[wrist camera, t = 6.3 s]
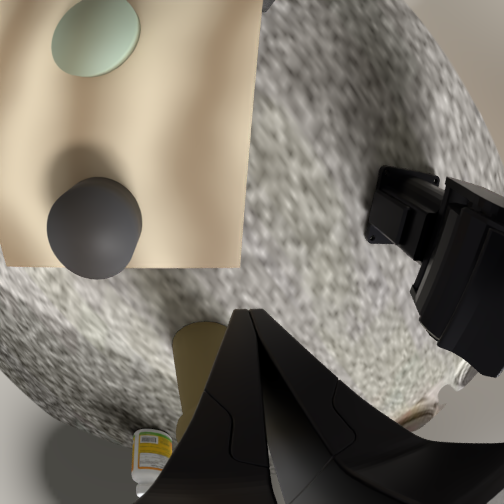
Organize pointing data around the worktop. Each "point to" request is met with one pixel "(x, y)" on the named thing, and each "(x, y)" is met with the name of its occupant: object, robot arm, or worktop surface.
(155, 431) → the supplement bottle
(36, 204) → the board
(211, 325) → the cork
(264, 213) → the worktop surface
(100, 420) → the worktop surface
